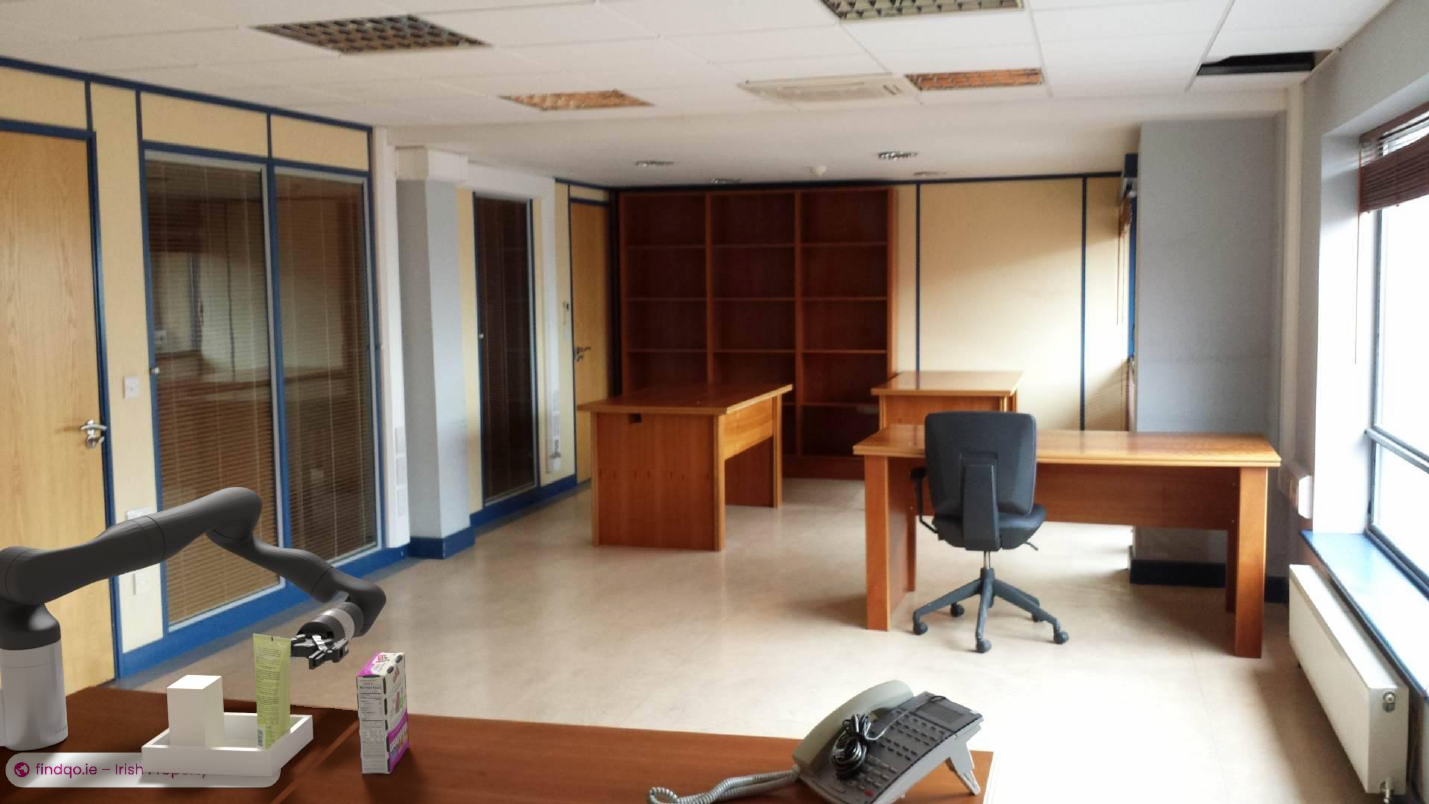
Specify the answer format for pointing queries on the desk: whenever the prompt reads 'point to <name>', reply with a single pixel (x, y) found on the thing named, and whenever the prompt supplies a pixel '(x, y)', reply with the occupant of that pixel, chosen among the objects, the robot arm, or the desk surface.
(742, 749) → the desk surface
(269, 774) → the tote
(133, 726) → the desk surface
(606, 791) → the desk surface
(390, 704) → the candy bar box
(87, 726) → the desk surface
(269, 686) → the tube
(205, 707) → the carton
